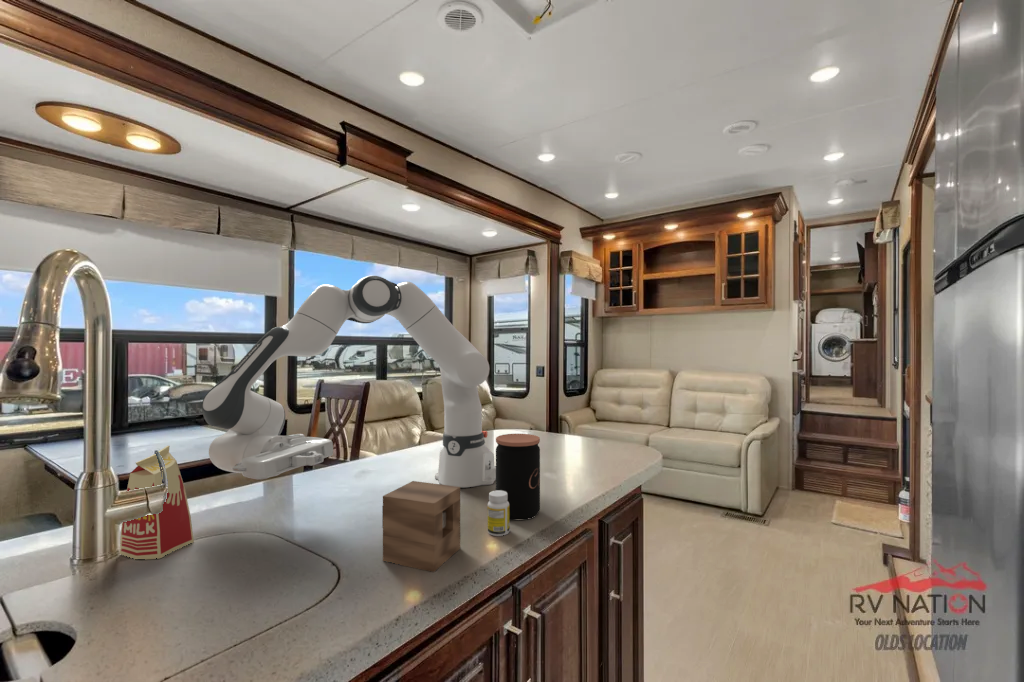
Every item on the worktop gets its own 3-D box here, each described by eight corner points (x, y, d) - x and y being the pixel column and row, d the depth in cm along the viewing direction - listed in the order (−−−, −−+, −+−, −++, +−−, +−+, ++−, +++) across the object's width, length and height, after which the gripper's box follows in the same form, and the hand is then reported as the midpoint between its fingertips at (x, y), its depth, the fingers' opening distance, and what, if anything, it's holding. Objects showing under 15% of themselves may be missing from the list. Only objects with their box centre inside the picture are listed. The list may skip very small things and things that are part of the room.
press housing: (413, 539, 95) (412, 480, 95) (460, 548, 91) (460, 486, 91) (382, 561, 86) (382, 496, 86) (434, 571, 82) (434, 503, 82)
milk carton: (159, 538, 96) (159, 442, 96) (196, 541, 94) (196, 444, 94) (113, 558, 87) (113, 452, 87) (153, 562, 85) (153, 455, 85)
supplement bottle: (499, 525, 102) (499, 488, 102) (514, 532, 99) (514, 493, 99) (482, 532, 99) (482, 493, 99) (497, 538, 95) (497, 498, 95)
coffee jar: (536, 523, 104) (536, 443, 104) (490, 519, 106) (490, 441, 106) (543, 506, 114) (542, 434, 114) (501, 503, 116) (501, 432, 116)
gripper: (226, 453, 93) (277, 457, 88) (304, 432, 112) (350, 435, 107) (227, 484, 93) (278, 490, 88) (305, 457, 112) (351, 461, 107)
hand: (318, 459), depth 98 cm, fingers closed
